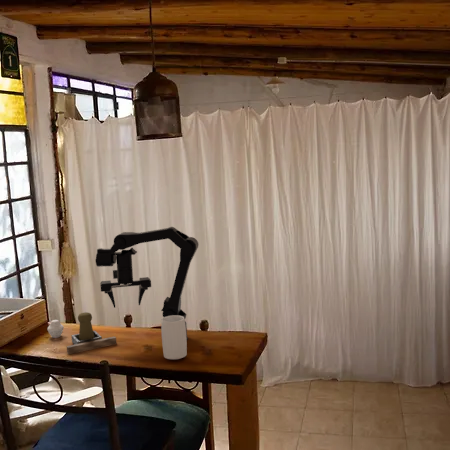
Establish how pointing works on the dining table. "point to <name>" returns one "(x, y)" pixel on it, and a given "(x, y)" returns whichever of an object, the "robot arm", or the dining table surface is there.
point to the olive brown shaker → (85, 326)
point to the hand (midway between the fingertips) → (127, 306)
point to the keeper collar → (76, 339)
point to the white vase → (55, 328)
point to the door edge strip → (91, 345)
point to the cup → (174, 337)
